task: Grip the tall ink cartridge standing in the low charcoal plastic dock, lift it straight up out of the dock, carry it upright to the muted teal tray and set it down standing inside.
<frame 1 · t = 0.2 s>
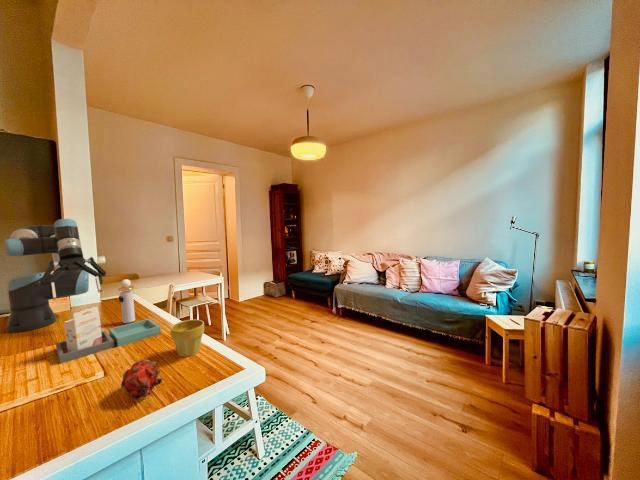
hand: (78, 294, 107), 16 cm above the kitchen counter, tool tilted 35°, fingers open, 13 cm apart
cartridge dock: (85, 348, 95), on the kitchen counter
ink cartridge box: (85, 349, 95), resting in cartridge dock
dragon fruit: (142, 392, 70), on the kitchen counter
perfume bottle: (129, 323, 118), on the kitchen counter
teal tray: (135, 334, 105), on the kitchen counter
plant pot: (189, 352, 90), on the kitchen counter
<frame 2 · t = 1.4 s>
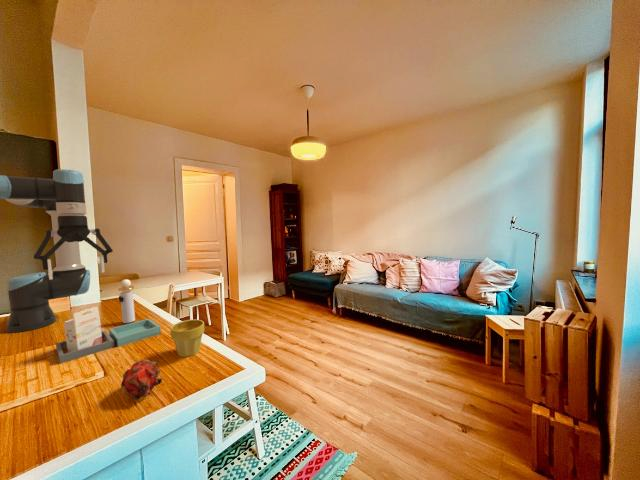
hand: (78, 275, 92), 27 cm above the kitchen counter, tool pointing down, fingers open, 13 cm apart
nothing on the kitchen counter moved.
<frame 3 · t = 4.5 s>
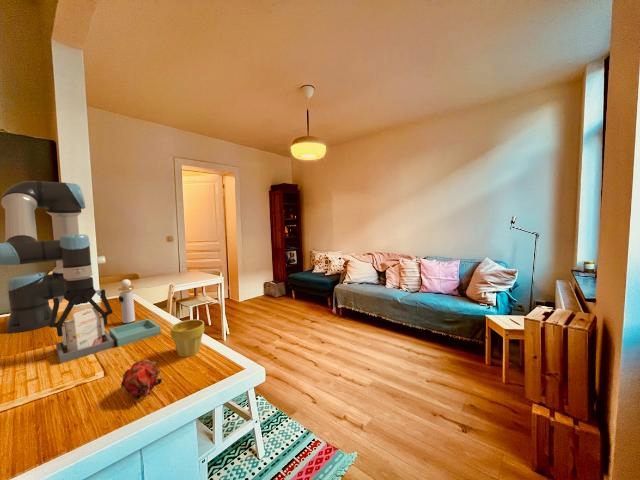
hand: (84, 338, 94), 4 cm above the kitchen counter, tool pointing down, fingers closed on ink cartridge box, 10 cm apart
ink cartridge box: (85, 349, 95), resting in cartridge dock, touching gripper
everything else where it was.
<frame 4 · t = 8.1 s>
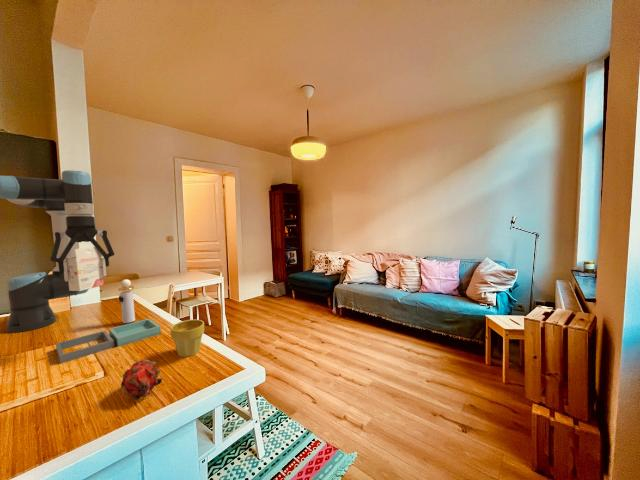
hand: (86, 278, 94), 26 cm above the kitchen counter, tool pointing down, fingers closed on ink cartridge box, 10 cm apart
ink cartridge box: (87, 288, 94), point 22 cm above the kitchen counter, touching gripper
everything else where it was.
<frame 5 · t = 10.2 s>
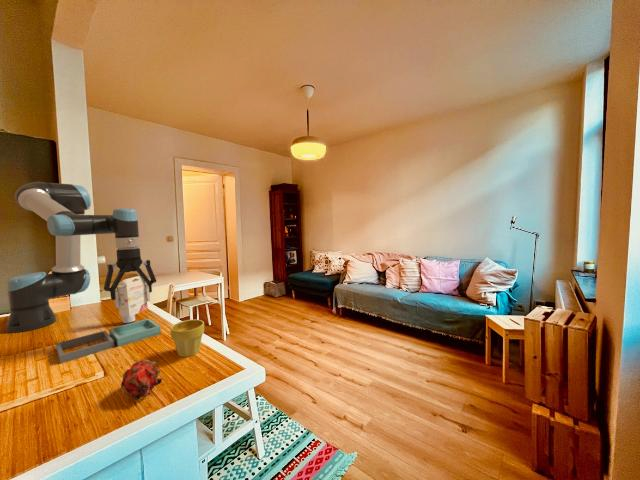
hand: (133, 303, 104), 13 cm above the kitchen counter, tool pointing down, fingers closed on ink cartridge box, 10 cm apart
ink cartridge box: (133, 313, 104), point 9 cm above the kitchen counter, touching gripper
everything else where it was.
when the fingers open (6 cm above the kitchen counter, at t = 11.9 s): ink cartridge box drops 1 cm, resting on teal tray.
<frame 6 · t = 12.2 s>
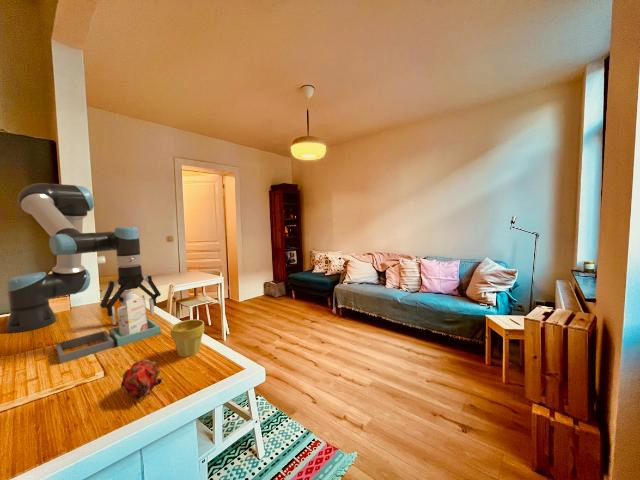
hand: (134, 318, 105), 7 cm above the kitchen counter, tool pointing down, fingers open, 12 cm apart
ink cartridge box: (134, 333, 105), point 1 cm above the kitchen counter, touching teal tray
everything else where it was.
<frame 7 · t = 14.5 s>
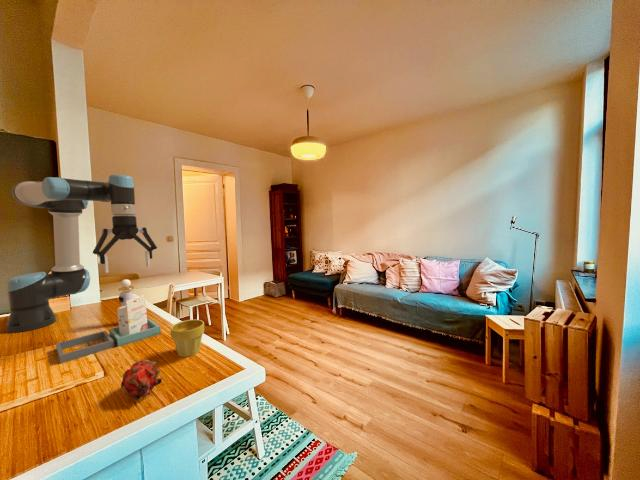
hand: (128, 269, 103), 27 cm above the kitchen counter, tool pointing down, fingers open, 13 cm apart
nothing on the kitchen counter moved.
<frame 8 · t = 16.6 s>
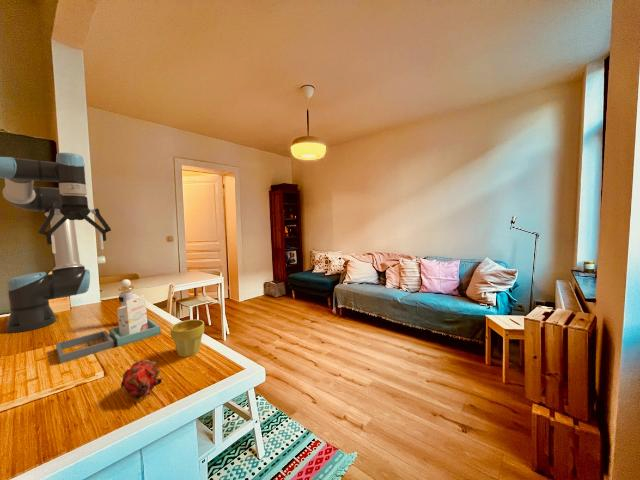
hand: (79, 251, 101), 35 cm above the kitchen counter, tool pointing down, fingers open, 13 cm apart
nothing on the kitchen counter moved.
at the end: ink cartridge box inside the target area on the teal tray (0.3 cm from its centre), point 0.6 cm above the teal tray's base; ink cartridge box tilted 0°; the gripper is holding nothing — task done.
